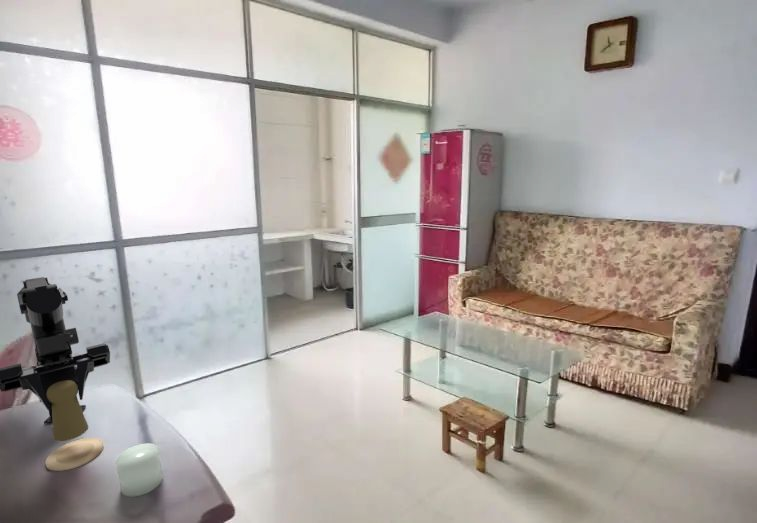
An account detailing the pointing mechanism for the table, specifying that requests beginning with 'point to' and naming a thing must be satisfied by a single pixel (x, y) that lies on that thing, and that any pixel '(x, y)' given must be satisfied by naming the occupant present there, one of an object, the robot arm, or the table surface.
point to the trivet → (74, 454)
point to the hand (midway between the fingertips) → (65, 404)
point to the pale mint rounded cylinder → (139, 469)
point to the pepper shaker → (66, 411)
